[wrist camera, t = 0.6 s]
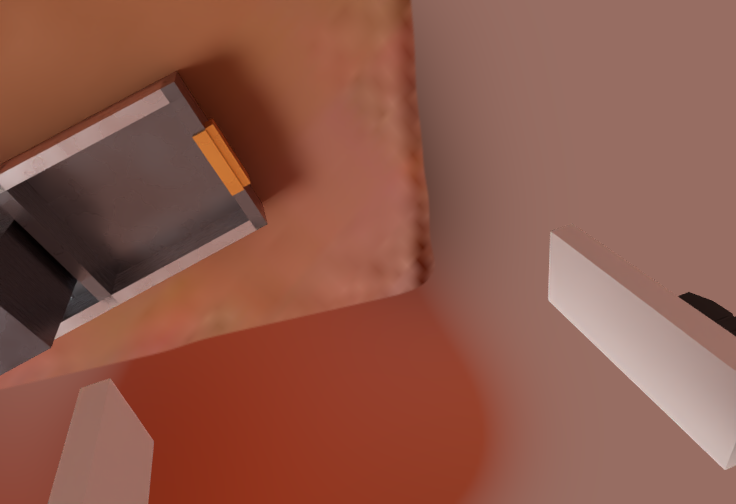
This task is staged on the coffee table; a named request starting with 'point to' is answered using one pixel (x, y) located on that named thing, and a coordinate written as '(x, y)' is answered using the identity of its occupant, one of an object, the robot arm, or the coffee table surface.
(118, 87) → the coffee table surface
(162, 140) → the rack
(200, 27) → the coffee table surface
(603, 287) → the robot arm
